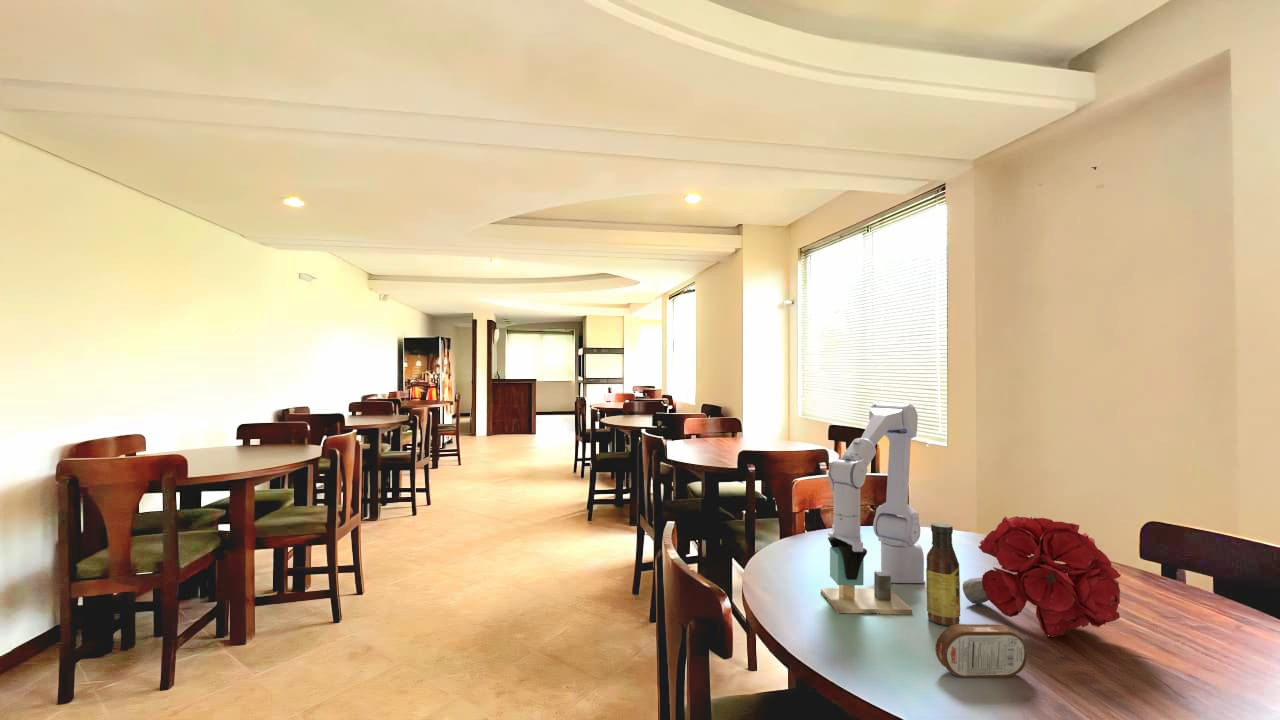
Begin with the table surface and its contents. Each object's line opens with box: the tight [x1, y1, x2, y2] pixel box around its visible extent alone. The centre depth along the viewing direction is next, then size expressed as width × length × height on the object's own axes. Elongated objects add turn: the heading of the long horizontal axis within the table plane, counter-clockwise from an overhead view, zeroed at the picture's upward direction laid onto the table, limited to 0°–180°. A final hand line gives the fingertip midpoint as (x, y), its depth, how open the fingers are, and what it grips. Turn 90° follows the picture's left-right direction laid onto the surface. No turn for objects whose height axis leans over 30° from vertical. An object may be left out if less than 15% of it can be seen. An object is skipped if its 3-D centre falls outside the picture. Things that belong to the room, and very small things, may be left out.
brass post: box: [838, 585, 856, 600], centre depth 132 cm, size 3×3×6 cm
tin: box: [934, 623, 1029, 679], centre depth 101 cm, size 15×3×8 cm, turn 92°
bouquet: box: [962, 515, 1122, 638], centre depth 121 cm, size 22×24×30 cm
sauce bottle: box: [925, 522, 961, 627], centre depth 123 cm, size 6×6×20 cm
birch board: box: [820, 571, 913, 615], centre depth 132 cm, size 16×12×6 cm
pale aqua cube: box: [829, 546, 865, 586], centre depth 132 cm, size 6×6×7 cm
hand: (846, 574), depth 132 cm, fingers closed on pale aqua cube, 6 cm apart
